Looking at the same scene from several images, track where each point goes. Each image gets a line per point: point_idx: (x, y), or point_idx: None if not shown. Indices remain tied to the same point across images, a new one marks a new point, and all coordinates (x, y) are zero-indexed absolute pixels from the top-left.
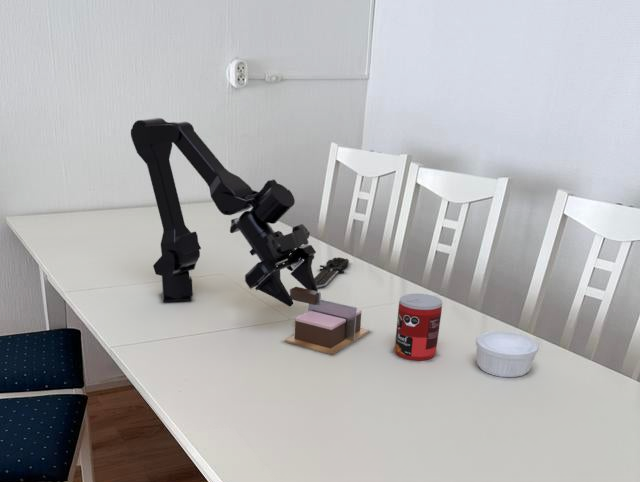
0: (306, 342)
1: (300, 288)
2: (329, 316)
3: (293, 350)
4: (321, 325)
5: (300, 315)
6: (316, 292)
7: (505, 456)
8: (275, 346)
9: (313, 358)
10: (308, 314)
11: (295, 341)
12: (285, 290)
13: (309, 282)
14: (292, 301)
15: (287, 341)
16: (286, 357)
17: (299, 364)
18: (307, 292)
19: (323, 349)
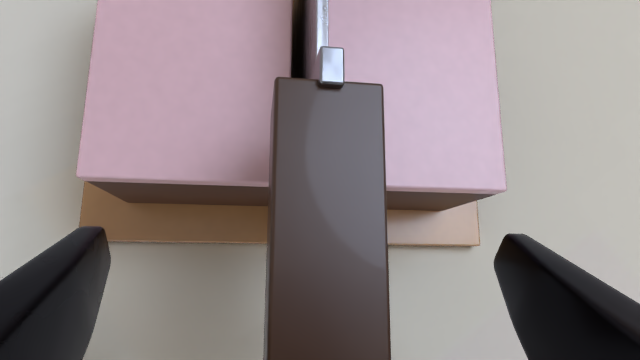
0: None
1: (300, 317)
2: (347, 22)
3: (521, 159)
4: (488, 8)
5: (447, 187)
6: (313, 101)
7: None
8: None
9: (531, 50)
10: (399, 151)
11: None
12: (636, 320)
13: (40, 346)
14: (524, 241)
15: (476, 229)
16: (595, 145)
17: (609, 69)
18: (372, 175)
19: None
